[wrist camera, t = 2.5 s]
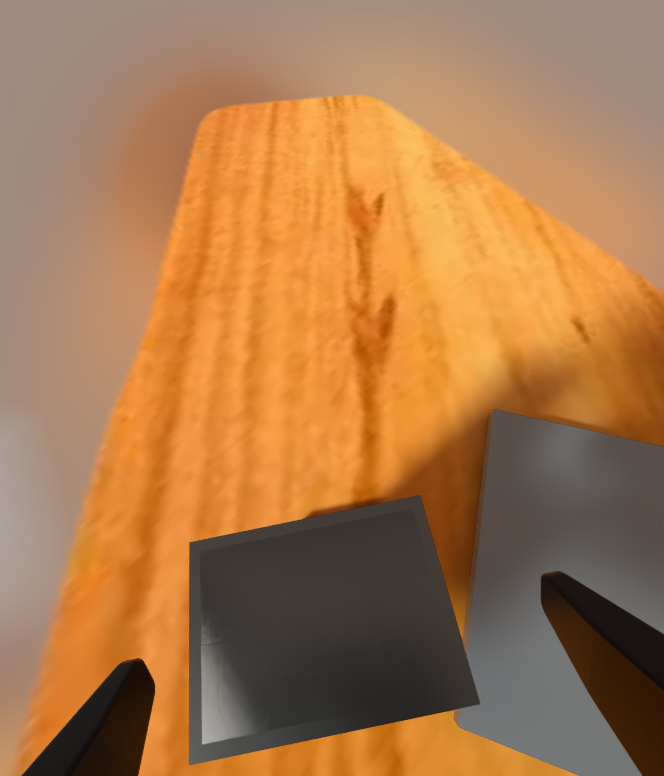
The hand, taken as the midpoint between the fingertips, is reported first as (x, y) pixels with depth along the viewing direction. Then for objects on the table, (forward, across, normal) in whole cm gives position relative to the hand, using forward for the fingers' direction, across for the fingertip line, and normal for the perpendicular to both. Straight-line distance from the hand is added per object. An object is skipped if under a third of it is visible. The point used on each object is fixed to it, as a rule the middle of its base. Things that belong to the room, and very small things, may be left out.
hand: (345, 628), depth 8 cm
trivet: (+5, -12, +8) cm, 15 cm away
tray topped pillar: (+7, 0, +6) cm, 9 cm away
